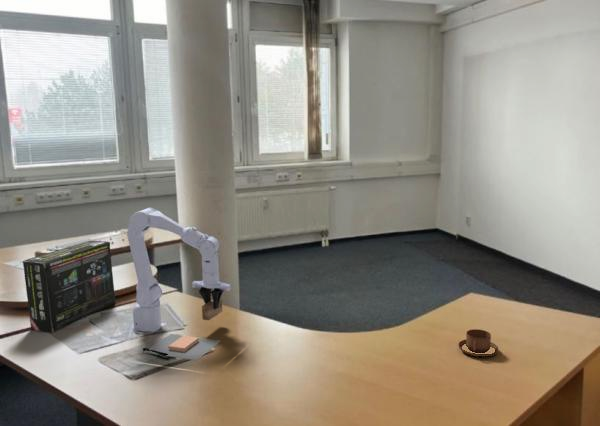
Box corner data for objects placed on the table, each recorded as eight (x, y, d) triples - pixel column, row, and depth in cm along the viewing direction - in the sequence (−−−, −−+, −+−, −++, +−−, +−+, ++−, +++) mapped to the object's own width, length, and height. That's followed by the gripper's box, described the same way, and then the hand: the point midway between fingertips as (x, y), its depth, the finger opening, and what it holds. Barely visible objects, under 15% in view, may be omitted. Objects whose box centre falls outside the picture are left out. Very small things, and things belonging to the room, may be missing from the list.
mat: (143, 353, 172) (142, 352, 172) (170, 335, 187) (170, 334, 186) (196, 361, 165) (196, 360, 165) (221, 342, 180) (221, 340, 180)
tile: (183, 339, 181) (168, 349, 173) (183, 335, 181) (168, 346, 173) (198, 341, 179) (184, 352, 171) (198, 337, 179) (184, 348, 171)
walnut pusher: (202, 319, 186) (201, 306, 185) (216, 310, 195) (215, 297, 194) (208, 320, 185) (208, 306, 184) (222, 311, 194) (221, 298, 193)
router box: (95, 300, 227) (90, 239, 223) (116, 302, 223) (112, 241, 219) (27, 330, 194) (20, 260, 189) (51, 334, 190) (43, 262, 186)
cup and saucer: (500, 361, 162) (501, 342, 161) (460, 358, 164) (460, 340, 163) (494, 345, 173) (495, 327, 172) (456, 343, 176) (457, 325, 175)
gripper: (234, 269, 189) (235, 306, 191) (198, 267, 193) (200, 302, 196) (224, 275, 182) (226, 312, 184) (188, 272, 187) (190, 308, 189)
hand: (212, 308), depth 189 cm, fingers closed on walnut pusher, 2 cm apart
